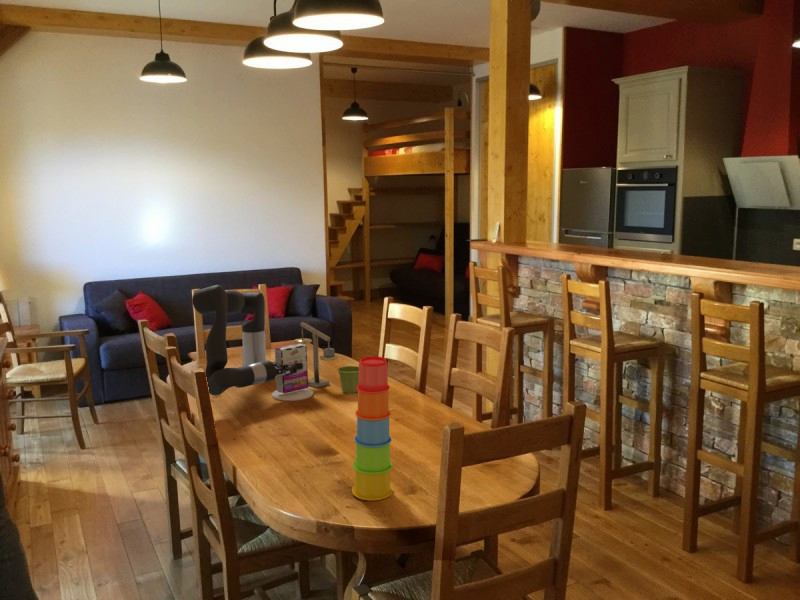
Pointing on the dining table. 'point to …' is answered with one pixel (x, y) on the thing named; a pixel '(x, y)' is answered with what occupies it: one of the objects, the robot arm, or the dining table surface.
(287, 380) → the candy bar box
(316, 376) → the balance
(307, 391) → the dish
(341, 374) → the plant pot
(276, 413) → the dining table surface
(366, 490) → the stacking cups
